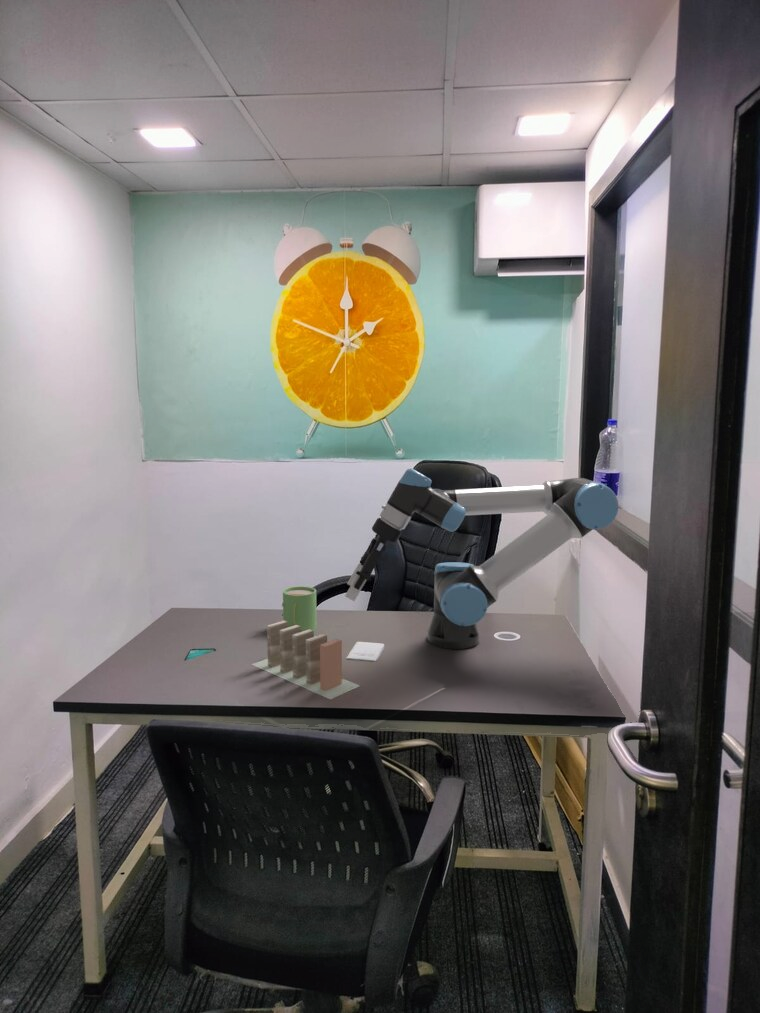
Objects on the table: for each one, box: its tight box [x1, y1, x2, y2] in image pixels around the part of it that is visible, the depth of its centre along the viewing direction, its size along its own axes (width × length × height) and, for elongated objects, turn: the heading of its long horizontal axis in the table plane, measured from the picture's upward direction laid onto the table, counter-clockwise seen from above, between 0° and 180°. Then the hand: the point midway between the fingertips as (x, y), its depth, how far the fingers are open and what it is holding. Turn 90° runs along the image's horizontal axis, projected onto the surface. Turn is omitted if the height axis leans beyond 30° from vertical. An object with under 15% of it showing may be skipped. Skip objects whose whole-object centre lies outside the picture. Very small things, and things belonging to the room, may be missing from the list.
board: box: [251, 658, 360, 700], centre depth 162 cm, size 30×10×1 cm, turn 48°
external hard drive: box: [345, 641, 385, 663], centre depth 178 cm, size 2×8×12 cm
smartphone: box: [184, 648, 217, 661], centre depth 173 cm, size 7×1×15 cm
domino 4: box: [306, 633, 328, 685], centre depth 158 cm, size 2×6×11 cm, turn 138°
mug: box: [281, 585, 318, 632], centre depth 196 cm, size 13×10×12 cm
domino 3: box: [292, 629, 315, 679], centre depth 161 cm, size 2×6×11 cm, turn 138°
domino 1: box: [266, 620, 288, 668], centre depth 168 cm, size 2×6×11 cm, turn 138°
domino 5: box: [320, 638, 343, 691], centre depth 155 cm, size 2×6×11 cm, turn 138°
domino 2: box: [280, 625, 301, 673], centre depth 165 cm, size 2×6×11 cm, turn 138°
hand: (350, 592), depth 172 cm, fingers open, 13 cm apart
